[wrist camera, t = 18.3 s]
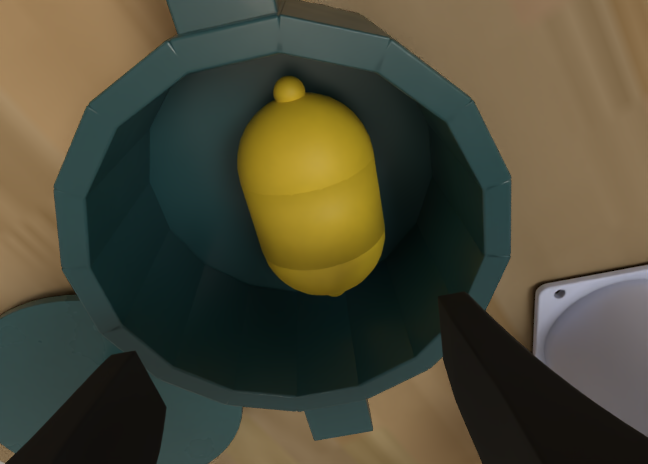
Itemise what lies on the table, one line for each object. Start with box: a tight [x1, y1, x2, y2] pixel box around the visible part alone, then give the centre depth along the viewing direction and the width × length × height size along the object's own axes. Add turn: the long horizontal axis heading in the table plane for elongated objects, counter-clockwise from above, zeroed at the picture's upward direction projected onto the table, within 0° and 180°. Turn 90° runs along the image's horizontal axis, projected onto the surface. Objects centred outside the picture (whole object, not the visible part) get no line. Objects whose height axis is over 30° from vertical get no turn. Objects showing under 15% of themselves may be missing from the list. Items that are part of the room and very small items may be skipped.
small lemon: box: [237, 76, 385, 297], centre depth 16 cm, size 5×9×5 cm, turn 11°
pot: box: [54, 0, 511, 441], centre depth 16 cm, size 13×18×6 cm
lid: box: [0, 295, 243, 464], centre depth 22 cm, size 14×14×5 cm
